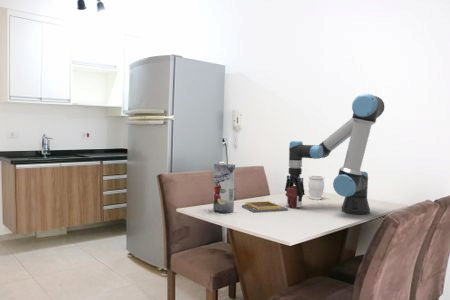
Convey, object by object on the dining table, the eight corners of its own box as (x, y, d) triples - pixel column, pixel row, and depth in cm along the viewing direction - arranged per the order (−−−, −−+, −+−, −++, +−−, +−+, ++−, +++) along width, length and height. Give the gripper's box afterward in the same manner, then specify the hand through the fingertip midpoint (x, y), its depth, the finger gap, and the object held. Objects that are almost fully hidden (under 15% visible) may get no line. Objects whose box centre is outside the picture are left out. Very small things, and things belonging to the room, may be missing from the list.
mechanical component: (302, 206, 222) (302, 209, 212) (285, 205, 224) (284, 208, 214) (303, 185, 221) (303, 187, 212) (286, 184, 223) (285, 186, 214)
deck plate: (287, 210, 207) (288, 205, 207) (254, 212, 199) (254, 207, 199) (273, 205, 222) (273, 200, 222) (241, 207, 214) (241, 202, 214)
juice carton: (222, 209, 207) (223, 160, 206) (236, 212, 200) (237, 162, 199) (210, 211, 201) (211, 161, 200) (224, 214, 193) (225, 162, 192)
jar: (325, 200, 245) (326, 177, 244) (309, 199, 245) (310, 177, 244) (321, 197, 255) (322, 175, 255) (306, 197, 255) (307, 175, 255)
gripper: (279, 165, 226) (278, 202, 227) (300, 169, 205) (299, 209, 206) (290, 165, 229) (289, 201, 230) (311, 169, 208) (310, 208, 209)
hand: (293, 205), depth 218 cm, fingers closed on mechanical component, 10 cm apart
